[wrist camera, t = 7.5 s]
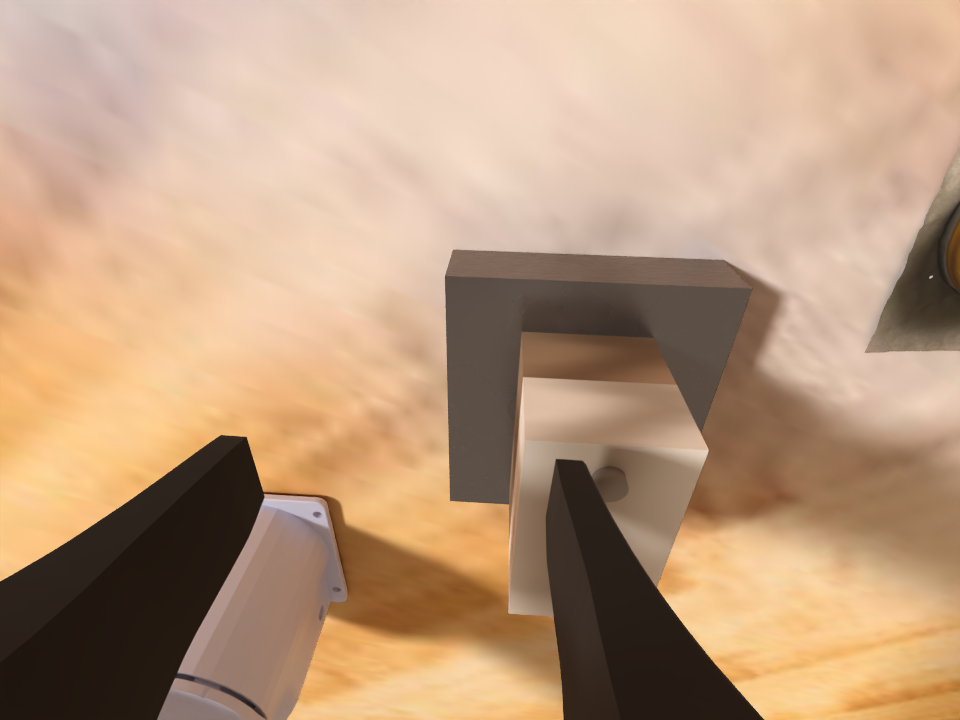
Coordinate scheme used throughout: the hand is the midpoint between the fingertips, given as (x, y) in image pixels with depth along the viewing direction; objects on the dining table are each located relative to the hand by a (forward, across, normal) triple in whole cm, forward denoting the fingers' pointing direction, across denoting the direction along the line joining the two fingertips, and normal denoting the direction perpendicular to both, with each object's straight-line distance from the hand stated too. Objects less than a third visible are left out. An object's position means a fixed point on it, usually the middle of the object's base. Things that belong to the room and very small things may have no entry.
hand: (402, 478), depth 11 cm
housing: (+7, -5, +4) cm, 9 cm away
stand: (+9, -5, +3) cm, 11 cm away
